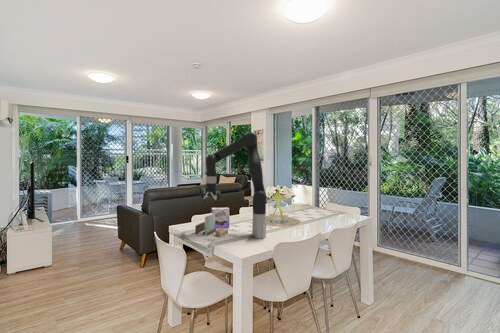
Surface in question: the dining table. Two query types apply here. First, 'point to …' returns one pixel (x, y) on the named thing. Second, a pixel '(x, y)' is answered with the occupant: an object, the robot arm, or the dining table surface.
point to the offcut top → (221, 231)
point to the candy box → (221, 217)
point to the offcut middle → (221, 235)
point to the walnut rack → (202, 229)
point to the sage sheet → (209, 223)
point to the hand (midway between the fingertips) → (210, 204)
